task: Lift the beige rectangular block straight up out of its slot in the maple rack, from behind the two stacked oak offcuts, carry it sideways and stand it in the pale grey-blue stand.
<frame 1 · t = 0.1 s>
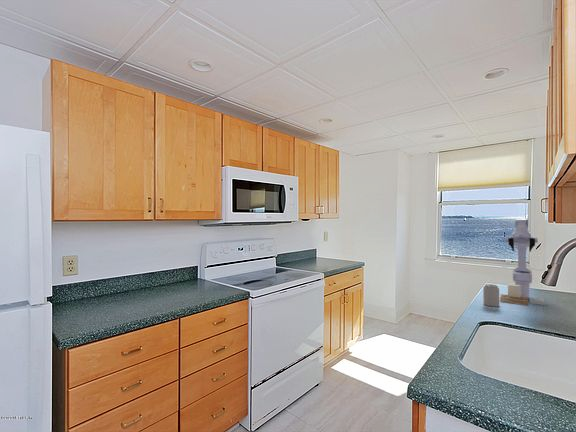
hand: (521, 250, 173), 32 cm above the worktop, tool tilted 50°, fingers open, 7 cm apart
can: (491, 306, 173), on the worktop
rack: (514, 302, 182), on the worktop
stand: (537, 304, 177), on the worktop
offcut upper: (513, 299, 180), point 2 cm above the worktop, touching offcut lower
beige rectangular block: (514, 300, 184), point 1 cm above the worktop, touching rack
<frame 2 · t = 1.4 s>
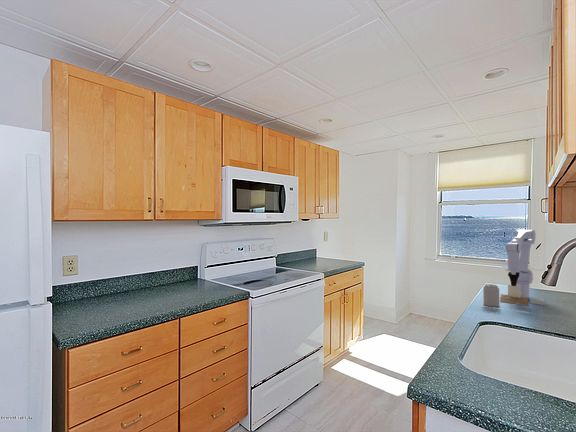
hand: (513, 284, 184), 10 cm above the worktop, tool pointing down, fingers open, 7 cm apart
nothing on the worktop moved.
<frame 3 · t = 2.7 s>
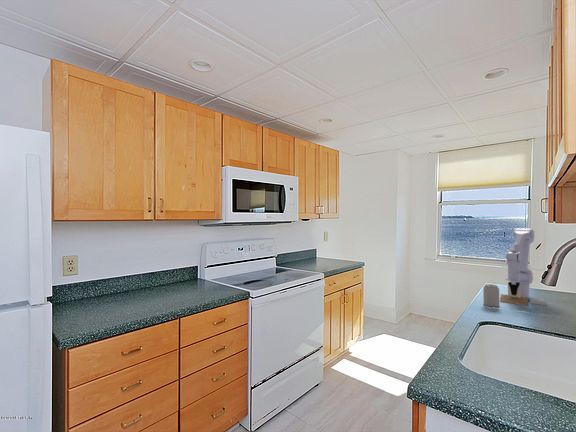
hand: (514, 294, 184), 4 cm above the worktop, tool pointing down, fingers closed on beige rectangular block, 2 cm apart
beige rectangular block: (514, 300, 184), point 1 cm above the worktop, touching gripper, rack
everything else where it was.
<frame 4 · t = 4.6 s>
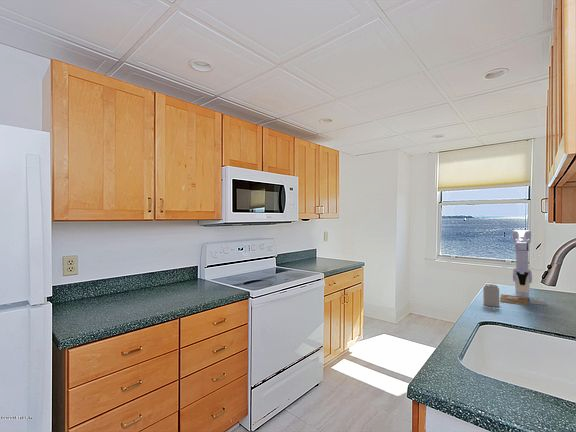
hand: (522, 284, 182), 10 cm above the worktop, tool pointing down, fingers closed on beige rectangular block
beige rectangular block: (522, 291, 182), point 6 cm above the worktop, touching gripper
everything else where it was.
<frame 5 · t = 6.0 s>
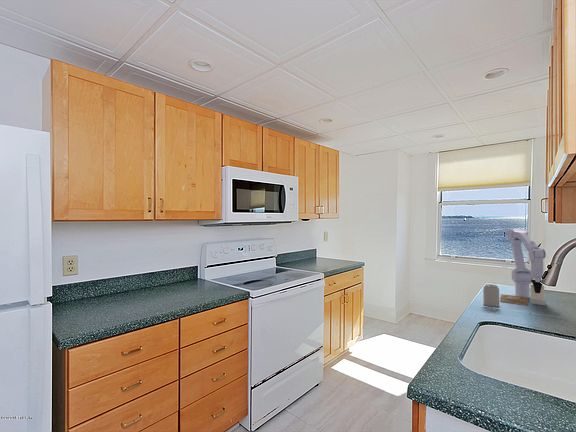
hand: (537, 292, 178), 7 cm above the worktop, tool pointing down, fingers closed on beige rectangular block, 2 cm apart
beige rectangular block: (537, 301, 177), point 2 cm above the worktop, touching gripper
everything else where it was.
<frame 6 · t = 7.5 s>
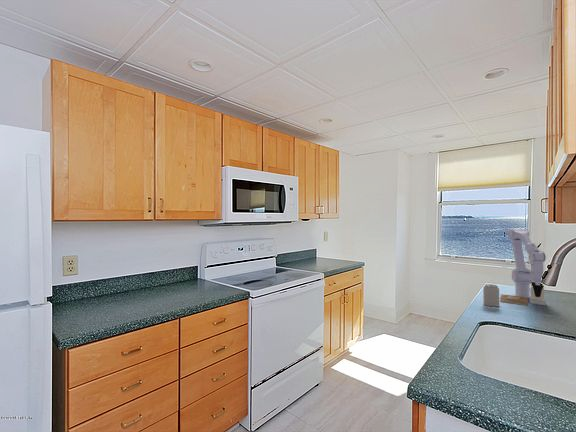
hand: (537, 295, 178), 5 cm above the worktop, tool pointing down, fingers open, 7 cm apart
beige rectangular block: (537, 303, 177), point 1 cm above the worktop, touching stand
everything else where it was.
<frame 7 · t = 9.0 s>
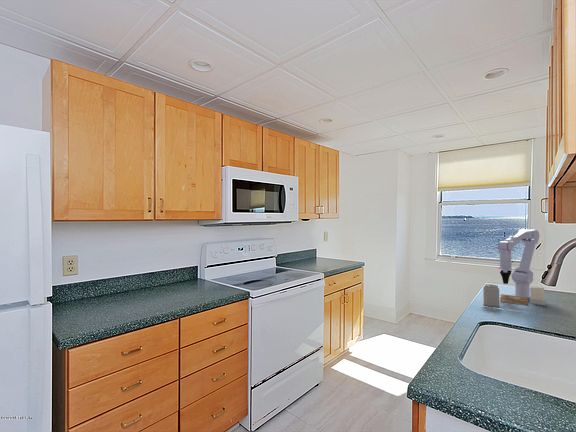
hand: (505, 282, 188), 10 cm above the worktop, tool pointing down, fingers open, 7 cm apart
nothing on the worktop moved.
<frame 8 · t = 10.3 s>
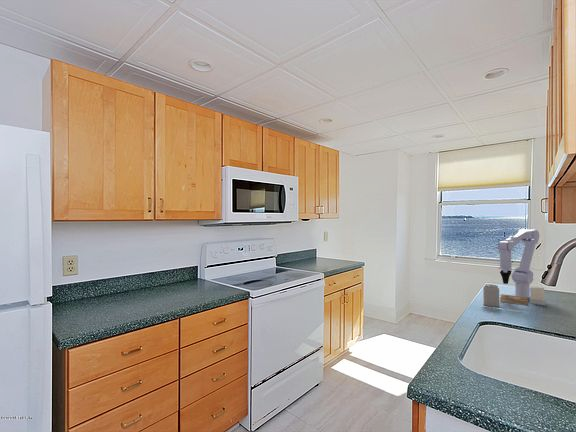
hand: (505, 282, 188), 10 cm above the worktop, tool pointing down, fingers open, 7 cm apart
nothing on the worktop moved.
at the end: beige rectangular block 0.0 cm off-centre on the stand, point 0.6 cm above the stand's base; beige rectangular block tilted 0°; the gripper is holding nothing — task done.
